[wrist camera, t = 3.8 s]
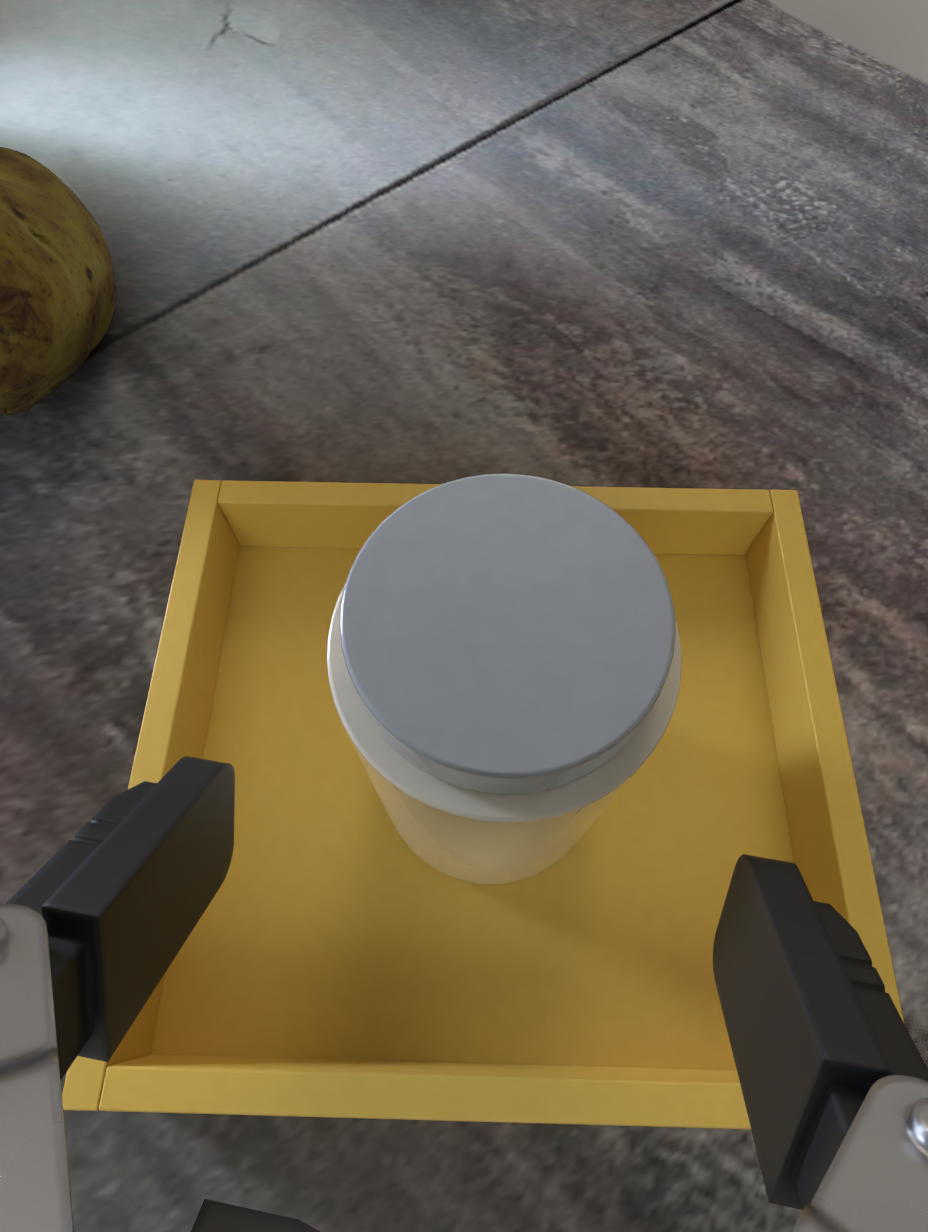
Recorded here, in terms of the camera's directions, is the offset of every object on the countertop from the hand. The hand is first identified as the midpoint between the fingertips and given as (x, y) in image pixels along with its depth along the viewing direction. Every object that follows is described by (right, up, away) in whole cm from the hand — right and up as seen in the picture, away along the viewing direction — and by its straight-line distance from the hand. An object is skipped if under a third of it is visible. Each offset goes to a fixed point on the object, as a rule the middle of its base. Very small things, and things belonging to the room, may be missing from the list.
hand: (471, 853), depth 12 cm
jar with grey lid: (+1, -1, +9) cm, 9 cm away
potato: (-16, +14, +17) cm, 27 cm away
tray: (+1, -1, +10) cm, 10 cm away
